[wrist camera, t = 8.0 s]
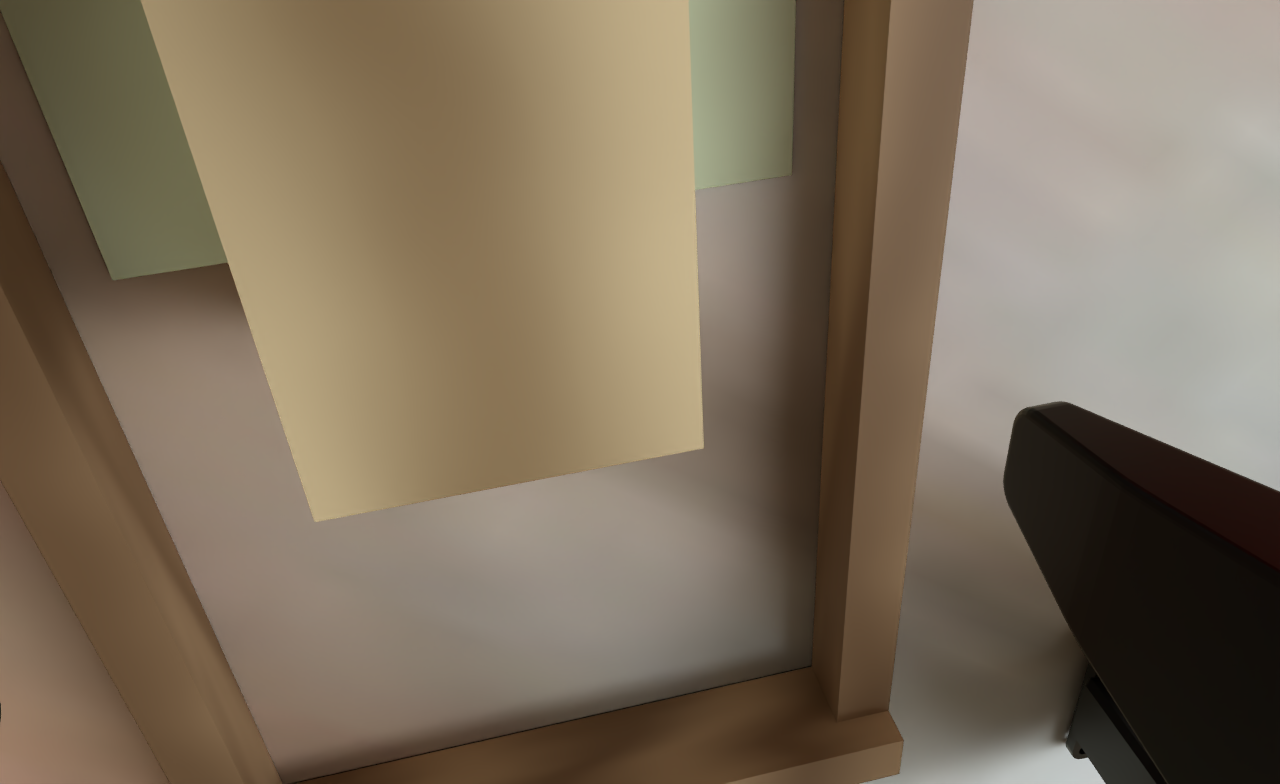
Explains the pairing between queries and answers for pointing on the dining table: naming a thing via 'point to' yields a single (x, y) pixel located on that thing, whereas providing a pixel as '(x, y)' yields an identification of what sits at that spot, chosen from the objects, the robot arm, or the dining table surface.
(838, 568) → the bay
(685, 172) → the box
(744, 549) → the dining table surface
